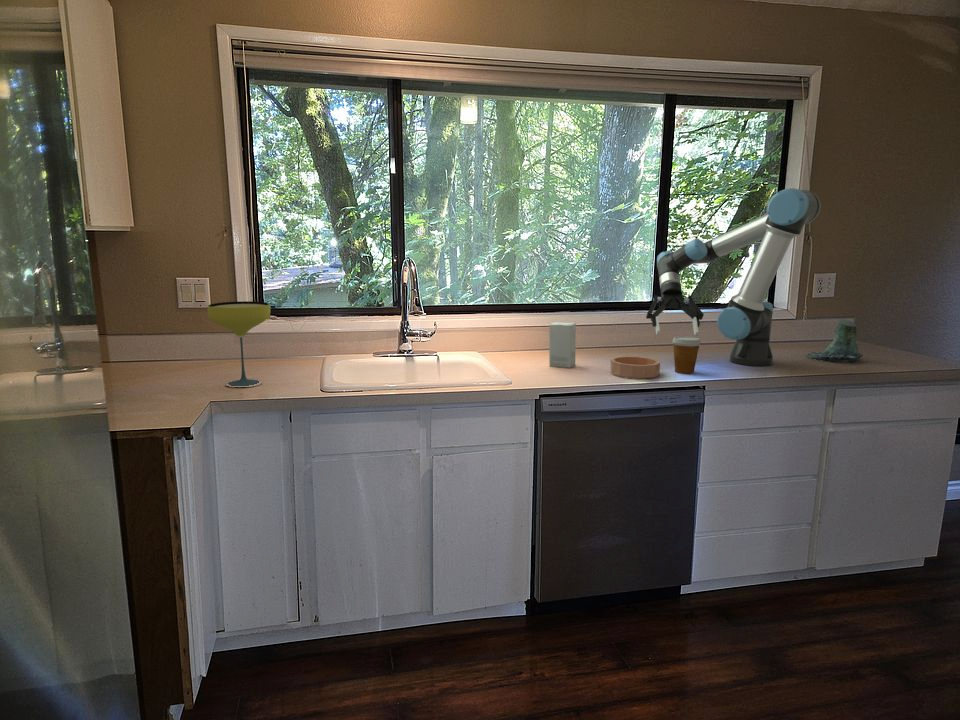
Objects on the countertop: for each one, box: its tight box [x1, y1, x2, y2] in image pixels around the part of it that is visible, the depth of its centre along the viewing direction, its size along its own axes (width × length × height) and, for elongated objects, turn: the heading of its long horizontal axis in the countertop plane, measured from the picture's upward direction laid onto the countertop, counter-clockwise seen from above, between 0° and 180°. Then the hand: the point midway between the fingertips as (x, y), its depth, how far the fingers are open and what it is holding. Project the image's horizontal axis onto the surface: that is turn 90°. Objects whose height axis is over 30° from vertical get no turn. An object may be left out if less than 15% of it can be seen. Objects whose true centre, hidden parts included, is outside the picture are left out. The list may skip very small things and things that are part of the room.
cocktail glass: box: [207, 300, 271, 386], centre depth 206 cm, size 18×18×25 cm
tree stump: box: [805, 319, 864, 363], centre depth 257 cm, size 18×20×18 cm
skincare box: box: [548, 321, 577, 369], centre depth 240 cm, size 8×7×16 cm
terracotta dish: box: [609, 355, 661, 380], centre depth 229 cm, size 16×16×4 cm
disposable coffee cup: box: [671, 335, 702, 375], centre depth 232 cm, size 10×10×12 cm
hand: (677, 333), depth 239 cm, fingers open, 13 cm apart
